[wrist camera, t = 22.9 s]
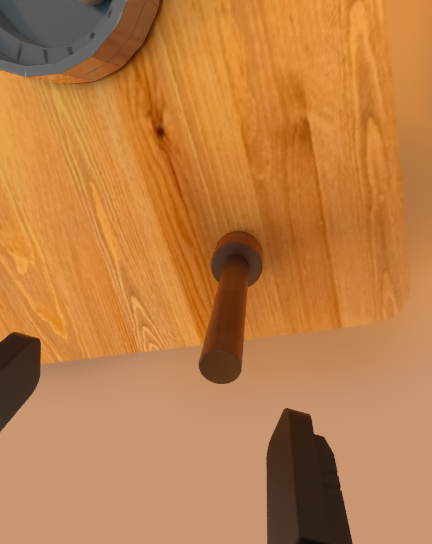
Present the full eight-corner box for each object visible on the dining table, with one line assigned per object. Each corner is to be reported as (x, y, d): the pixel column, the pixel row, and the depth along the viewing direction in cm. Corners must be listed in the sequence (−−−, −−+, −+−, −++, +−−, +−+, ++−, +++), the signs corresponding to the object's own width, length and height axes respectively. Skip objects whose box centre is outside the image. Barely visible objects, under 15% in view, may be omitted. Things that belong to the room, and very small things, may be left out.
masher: (269, 241, 31) (277, 350, 17) (251, 281, 33) (243, 411, 18) (224, 224, 31) (192, 318, 16) (208, 265, 33) (167, 383, 18)
